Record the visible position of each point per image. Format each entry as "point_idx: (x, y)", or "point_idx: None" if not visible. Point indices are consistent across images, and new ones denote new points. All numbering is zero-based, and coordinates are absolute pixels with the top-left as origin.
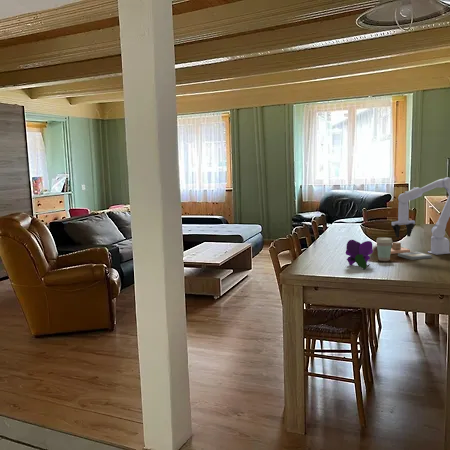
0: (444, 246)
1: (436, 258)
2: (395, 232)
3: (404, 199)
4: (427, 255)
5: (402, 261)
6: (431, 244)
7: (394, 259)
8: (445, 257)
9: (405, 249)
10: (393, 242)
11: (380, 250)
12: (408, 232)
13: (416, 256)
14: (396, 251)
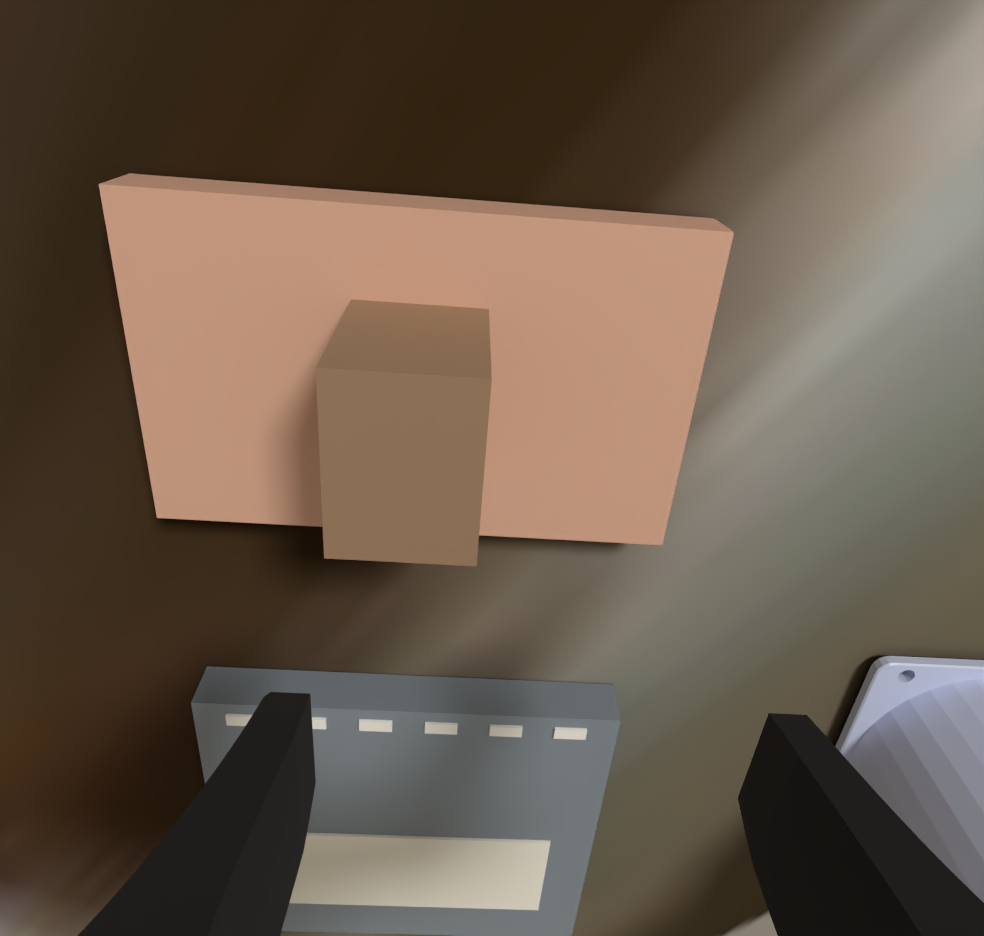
0: None
1: (600, 925)
2: (183, 862)
3: None
4: (515, 927)
5: (80, 902)
6: (945, 864)
7: (27, 802)
8: (744, 925)
9: (590, 493)
10: (344, 397)
11: None
12: (816, 903)
13: (329, 921)
14: (310, 516)
